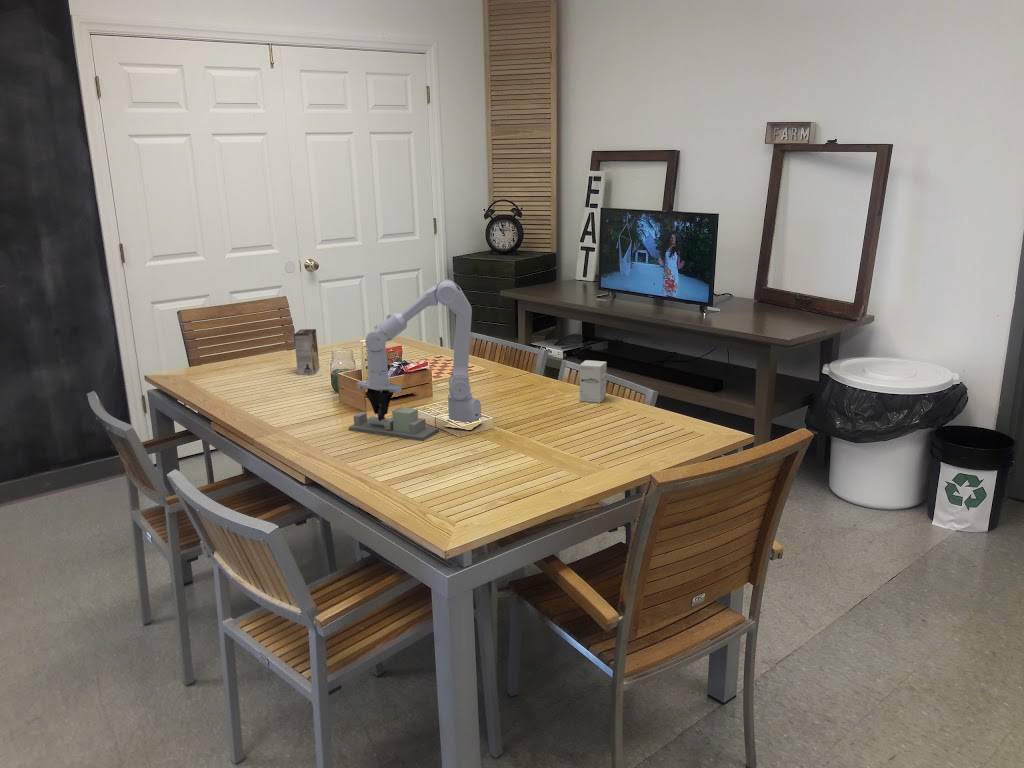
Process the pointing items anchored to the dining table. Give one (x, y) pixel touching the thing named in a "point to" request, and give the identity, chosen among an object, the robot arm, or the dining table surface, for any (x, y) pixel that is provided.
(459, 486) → the dining table surface
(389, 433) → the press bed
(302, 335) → the coffee box
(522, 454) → the dining table surface
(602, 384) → the supplement box
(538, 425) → the dining table surface
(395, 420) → the block
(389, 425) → the ram
